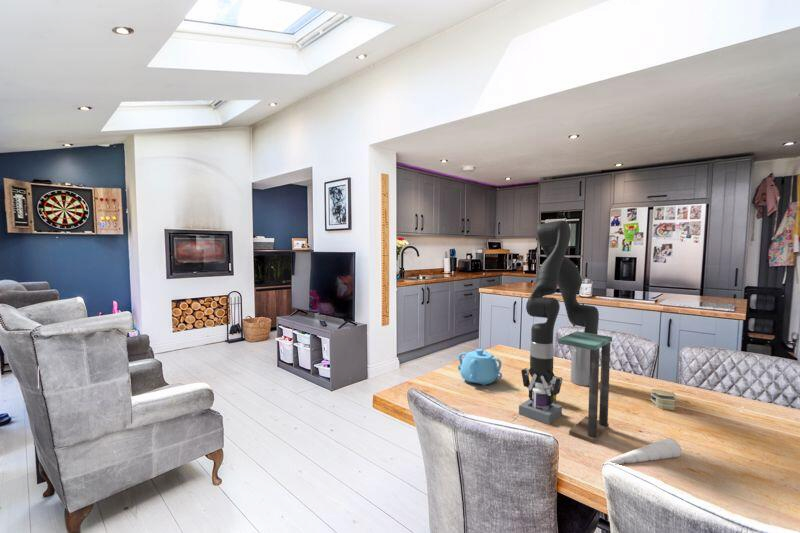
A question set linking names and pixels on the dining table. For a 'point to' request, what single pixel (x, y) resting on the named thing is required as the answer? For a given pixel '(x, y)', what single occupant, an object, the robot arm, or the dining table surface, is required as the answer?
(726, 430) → the dining table surface
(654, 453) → the unicorn horn
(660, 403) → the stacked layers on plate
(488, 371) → the decorative pot
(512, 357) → the dining table surface
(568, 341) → the green-topped post stand
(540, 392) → the pill bottle
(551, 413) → the socket
